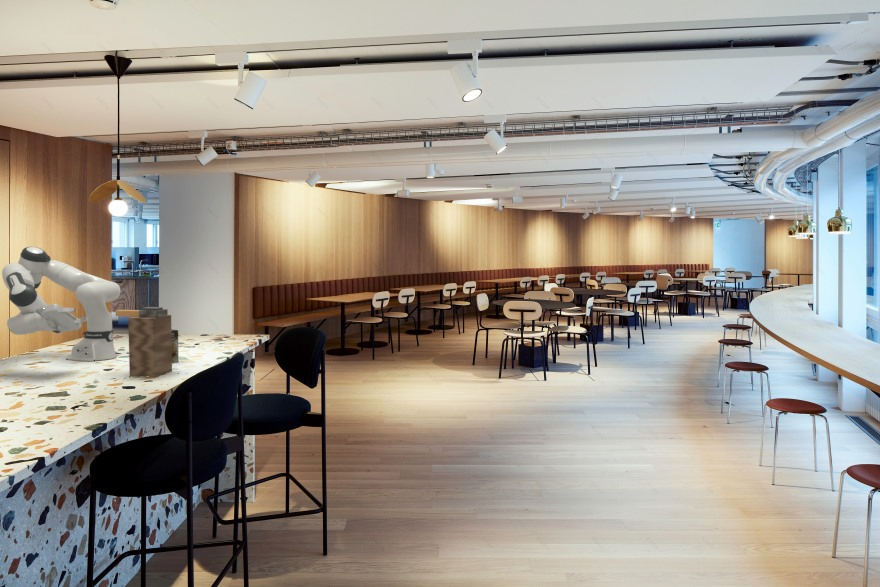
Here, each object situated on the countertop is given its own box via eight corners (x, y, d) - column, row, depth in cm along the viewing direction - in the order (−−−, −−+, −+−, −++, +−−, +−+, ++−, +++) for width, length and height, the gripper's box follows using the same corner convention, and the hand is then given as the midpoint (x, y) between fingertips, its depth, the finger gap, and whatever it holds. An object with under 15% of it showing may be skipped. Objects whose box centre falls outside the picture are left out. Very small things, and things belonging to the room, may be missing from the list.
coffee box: (161, 364, 291) (160, 331, 290) (154, 363, 295) (154, 330, 293) (179, 362, 298) (178, 330, 297) (172, 360, 302) (171, 328, 301)
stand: (129, 376, 265) (128, 311, 262) (147, 370, 278) (145, 307, 276) (155, 377, 264) (154, 311, 262) (172, 370, 278) (171, 308, 275)
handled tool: (114, 316, 268) (114, 307, 267) (121, 315, 273) (121, 306, 272) (157, 317, 266) (156, 308, 266) (162, 316, 271) (162, 307, 271)
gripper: (33, 303, 255) (67, 297, 256) (62, 322, 273) (93, 317, 274) (32, 316, 252) (65, 310, 253) (61, 335, 270) (92, 329, 271)
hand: (80, 314), depth 263 cm, fingers open, 8 cm apart
